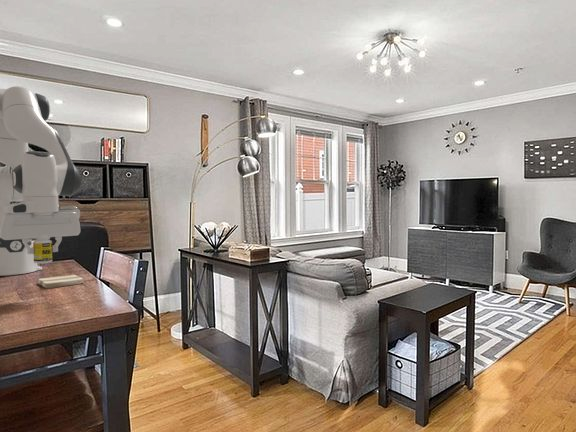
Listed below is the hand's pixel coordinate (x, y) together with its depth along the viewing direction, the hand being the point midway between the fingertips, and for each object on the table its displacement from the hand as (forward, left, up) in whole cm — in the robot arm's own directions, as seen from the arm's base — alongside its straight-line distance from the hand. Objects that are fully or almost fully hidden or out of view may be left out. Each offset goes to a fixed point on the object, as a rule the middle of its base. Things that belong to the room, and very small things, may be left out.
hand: (42, 252), depth 117 cm
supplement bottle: (0, 0, -3) cm, 3 cm away
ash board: (-15, +8, -13) cm, 22 cm away
